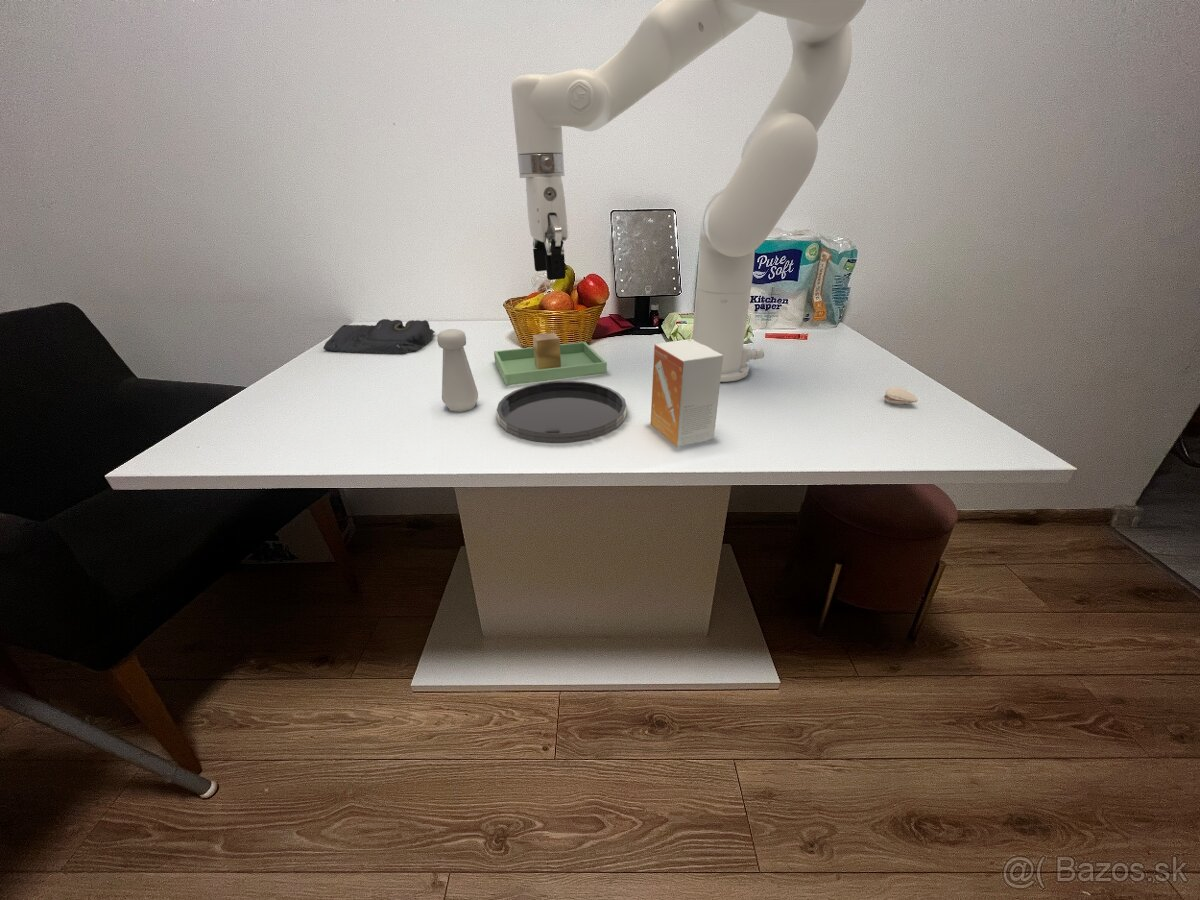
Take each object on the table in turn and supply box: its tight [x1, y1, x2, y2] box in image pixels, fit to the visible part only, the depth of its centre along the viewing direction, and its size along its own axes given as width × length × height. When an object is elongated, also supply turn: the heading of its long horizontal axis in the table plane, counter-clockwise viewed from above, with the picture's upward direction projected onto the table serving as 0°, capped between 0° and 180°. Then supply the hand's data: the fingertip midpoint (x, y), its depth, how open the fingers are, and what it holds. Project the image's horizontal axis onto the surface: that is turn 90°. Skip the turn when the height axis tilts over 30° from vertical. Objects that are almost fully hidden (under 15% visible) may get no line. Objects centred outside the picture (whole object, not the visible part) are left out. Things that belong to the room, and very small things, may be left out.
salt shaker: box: [436, 328, 479, 413], centre depth 81 cm, size 6×6×13 cm
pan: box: [496, 380, 627, 444], centre depth 81 cm, size 20×20×2 cm
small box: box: [650, 338, 723, 447], centre depth 72 cm, size 8×6×13 cm
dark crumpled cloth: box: [322, 318, 436, 355], centre depth 115 cm, size 15×22×5 cm
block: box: [532, 332, 561, 370], centre depth 99 cm, size 4×4×6 cm
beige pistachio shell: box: [883, 386, 919, 405], centre depth 84 cm, size 4×5×2 cm
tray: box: [493, 341, 608, 386], centre depth 100 cm, size 19×14×2 cm
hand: (549, 274), depth 93 cm, fingers open, 9 cm apart
